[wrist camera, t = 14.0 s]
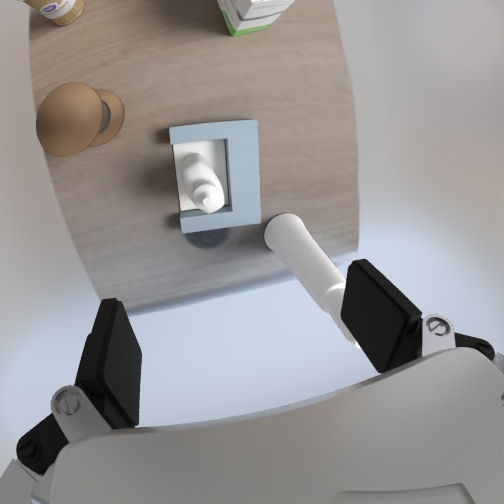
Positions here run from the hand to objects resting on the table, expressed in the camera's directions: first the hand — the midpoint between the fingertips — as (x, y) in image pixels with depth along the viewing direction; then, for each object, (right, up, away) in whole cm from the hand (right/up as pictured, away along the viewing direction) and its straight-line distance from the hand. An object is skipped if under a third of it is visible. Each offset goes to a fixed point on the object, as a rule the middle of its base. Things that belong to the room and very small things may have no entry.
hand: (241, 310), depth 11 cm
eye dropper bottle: (-6, +12, +23) cm, 26 cm away
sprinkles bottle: (-23, +33, +8) cm, 41 cm away
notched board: (-4, +12, +23) cm, 26 cm away
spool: (-18, +19, +16) cm, 31 cm away
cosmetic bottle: (+5, +5, +29) cm, 30 cm away
